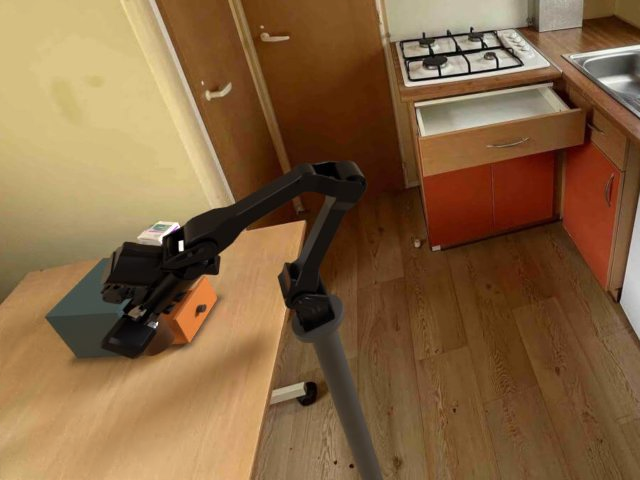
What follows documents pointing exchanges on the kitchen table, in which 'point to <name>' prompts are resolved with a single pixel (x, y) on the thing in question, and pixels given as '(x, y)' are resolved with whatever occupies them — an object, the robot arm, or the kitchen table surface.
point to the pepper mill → (161, 338)
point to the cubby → (86, 316)
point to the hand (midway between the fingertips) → (137, 322)
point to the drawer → (191, 311)
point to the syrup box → (158, 233)
